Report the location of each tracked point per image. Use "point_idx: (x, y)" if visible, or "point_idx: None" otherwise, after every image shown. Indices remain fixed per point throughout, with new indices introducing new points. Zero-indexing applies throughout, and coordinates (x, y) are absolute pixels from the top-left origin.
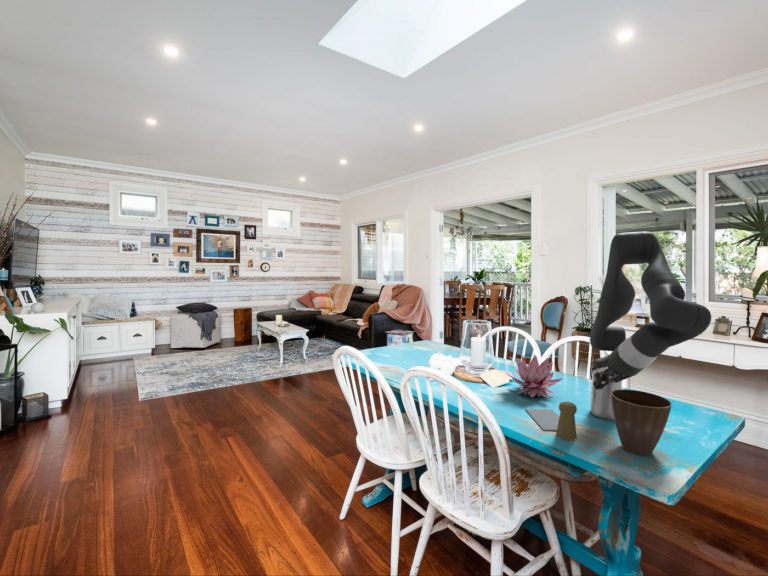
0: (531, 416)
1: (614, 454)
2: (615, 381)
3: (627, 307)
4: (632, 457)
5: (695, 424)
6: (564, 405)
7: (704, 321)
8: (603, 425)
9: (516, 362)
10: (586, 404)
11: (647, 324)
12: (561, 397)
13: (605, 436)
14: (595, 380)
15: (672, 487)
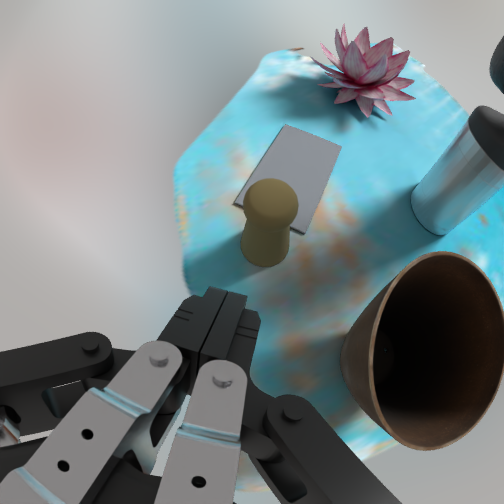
0: (269, 148)
1: (294, 358)
2: (248, 454)
3: None
4: (322, 382)
5: None
6: (249, 200)
7: None
8: (397, 240)
9: (341, 32)
10: (427, 164)
11: None
12: (400, 126)
13: (357, 282)
14: (198, 304)
15: None
